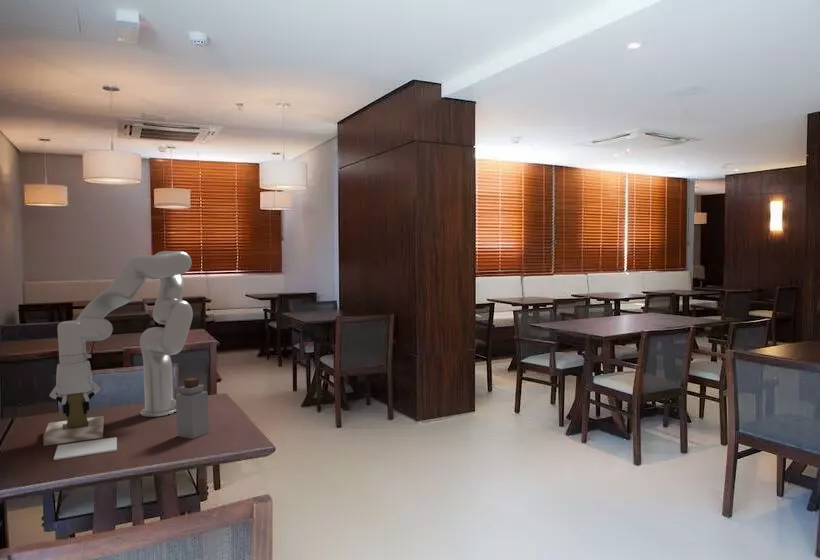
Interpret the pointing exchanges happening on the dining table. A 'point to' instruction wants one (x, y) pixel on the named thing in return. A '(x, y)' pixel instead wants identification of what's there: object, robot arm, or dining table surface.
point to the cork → (76, 411)
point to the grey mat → (86, 448)
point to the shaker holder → (73, 431)
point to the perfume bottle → (192, 409)
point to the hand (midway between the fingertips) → (76, 413)
